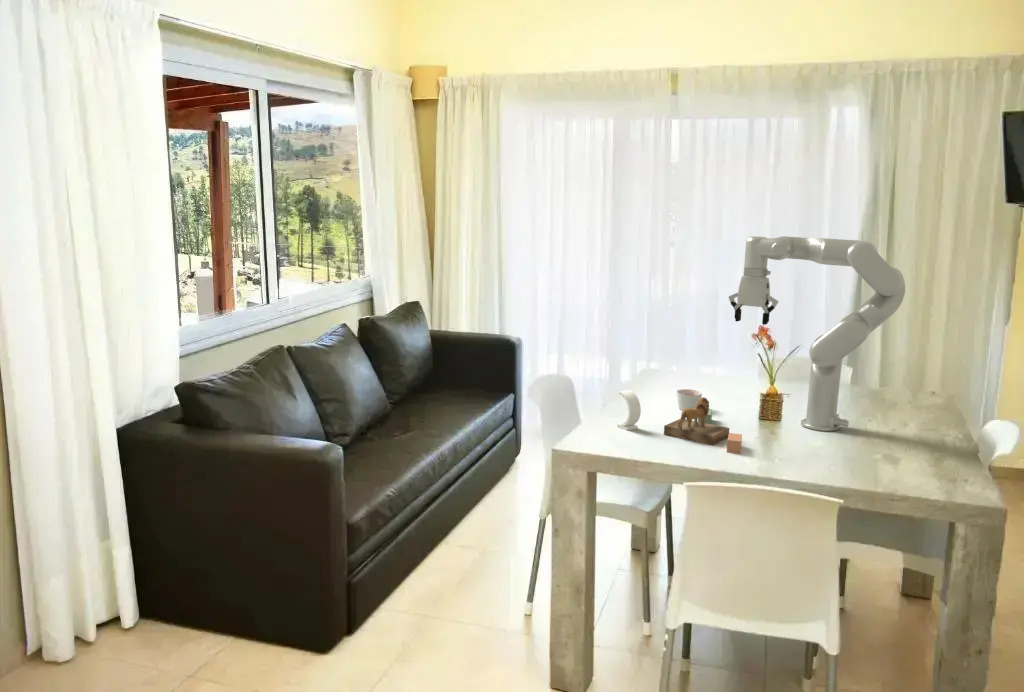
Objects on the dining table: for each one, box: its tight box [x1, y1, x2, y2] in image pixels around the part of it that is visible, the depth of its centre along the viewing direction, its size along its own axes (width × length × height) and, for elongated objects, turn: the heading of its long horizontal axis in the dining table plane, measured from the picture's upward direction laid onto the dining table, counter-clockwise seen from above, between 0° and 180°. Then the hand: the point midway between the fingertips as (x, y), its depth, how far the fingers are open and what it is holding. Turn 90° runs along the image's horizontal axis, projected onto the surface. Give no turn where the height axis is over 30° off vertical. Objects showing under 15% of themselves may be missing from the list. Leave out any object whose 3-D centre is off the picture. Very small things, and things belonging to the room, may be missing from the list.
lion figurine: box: [677, 396, 710, 430], centre depth 271 cm, size 15×5×9 cm, turn 137°
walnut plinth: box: [663, 418, 730, 446], centre depth 273 cm, size 17×12×3 cm
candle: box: [676, 388, 703, 411], centre depth 306 cm, size 9×9×6 cm
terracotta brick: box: [726, 432, 743, 454], centre depth 260 cm, size 8×4×4 cm, turn 163°
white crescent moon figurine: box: [617, 389, 642, 431], centre depth 280 cm, size 5×6×12 cm
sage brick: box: [697, 408, 713, 424], centre depth 290 cm, size 8×4×4 cm, turn 163°
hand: (751, 322), depth 293 cm, fingers open, 9 cm apart
